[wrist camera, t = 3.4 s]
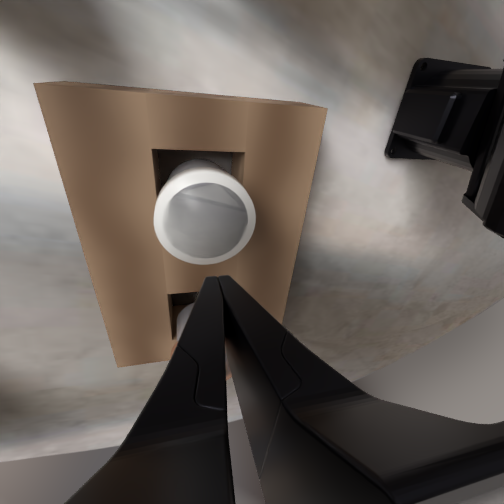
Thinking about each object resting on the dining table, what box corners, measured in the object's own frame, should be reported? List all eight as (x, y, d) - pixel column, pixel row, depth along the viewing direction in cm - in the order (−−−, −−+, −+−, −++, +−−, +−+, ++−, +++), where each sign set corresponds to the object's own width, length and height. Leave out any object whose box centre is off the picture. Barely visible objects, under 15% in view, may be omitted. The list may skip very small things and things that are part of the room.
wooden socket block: (300, 102, 18) (327, 108, 15) (266, 314, 29) (277, 344, 26) (64, 81, 15) (33, 83, 11) (125, 330, 25) (117, 367, 22)
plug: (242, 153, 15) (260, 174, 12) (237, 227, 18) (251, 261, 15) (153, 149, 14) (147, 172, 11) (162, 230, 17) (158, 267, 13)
